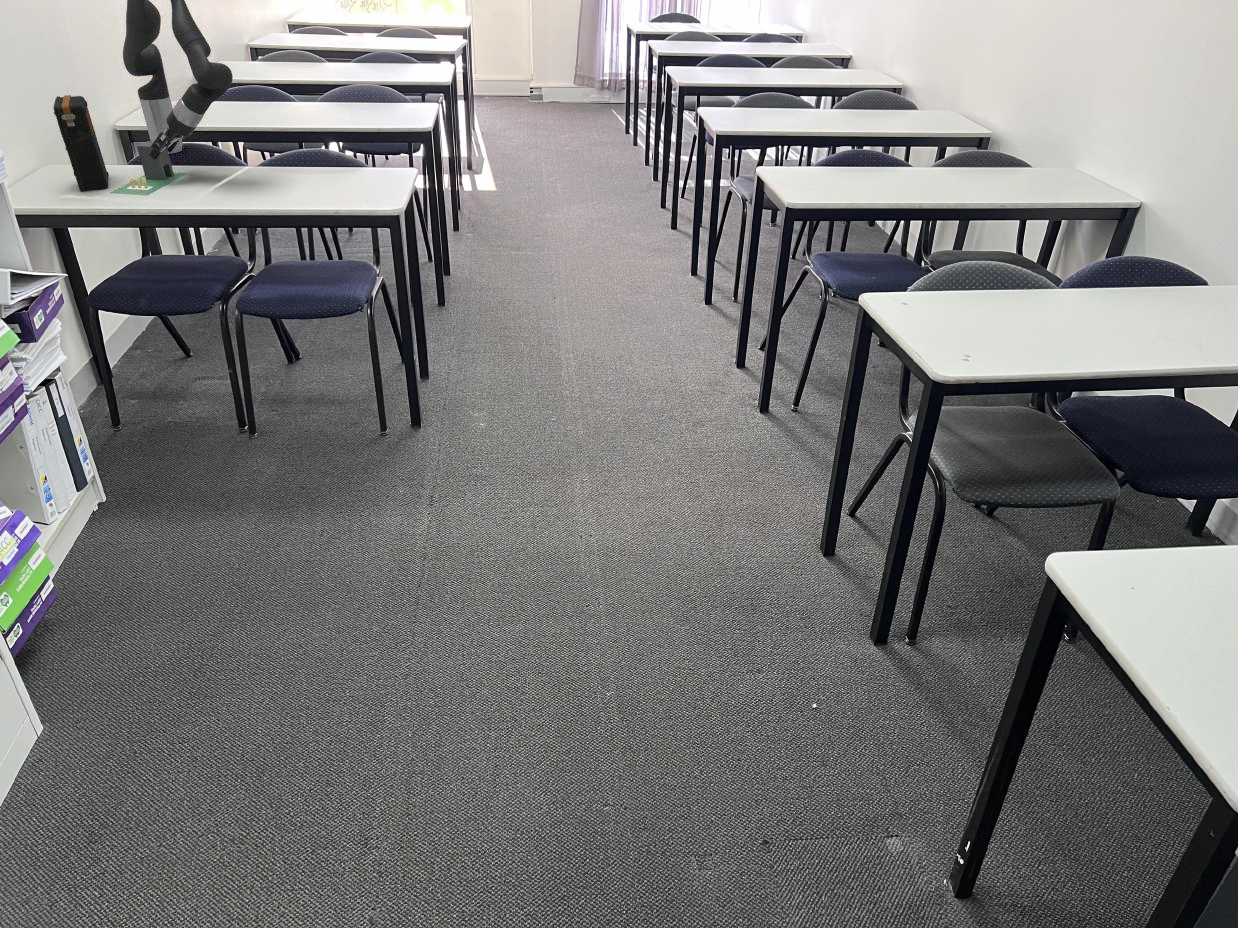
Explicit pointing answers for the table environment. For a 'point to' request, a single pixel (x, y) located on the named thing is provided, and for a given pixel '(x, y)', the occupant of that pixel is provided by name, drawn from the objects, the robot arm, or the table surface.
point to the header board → (145, 185)
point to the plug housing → (155, 163)
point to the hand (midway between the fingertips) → (160, 154)
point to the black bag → (81, 142)
